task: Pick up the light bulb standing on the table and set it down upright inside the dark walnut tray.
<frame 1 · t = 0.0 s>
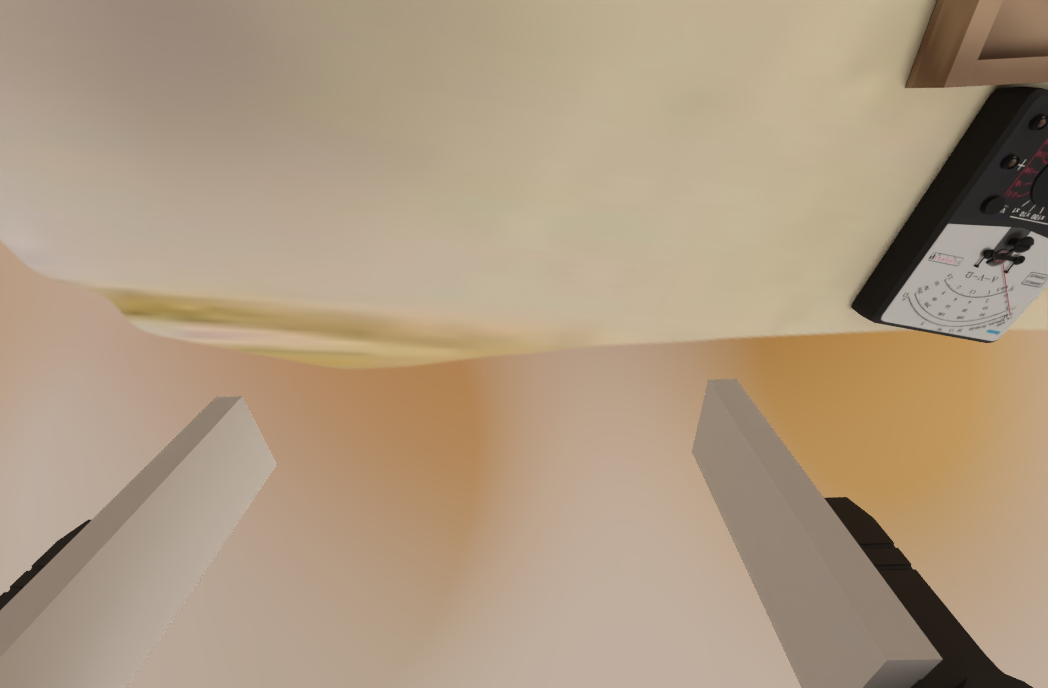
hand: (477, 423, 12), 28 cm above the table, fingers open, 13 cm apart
multimeter: (971, 224, 38), on the table
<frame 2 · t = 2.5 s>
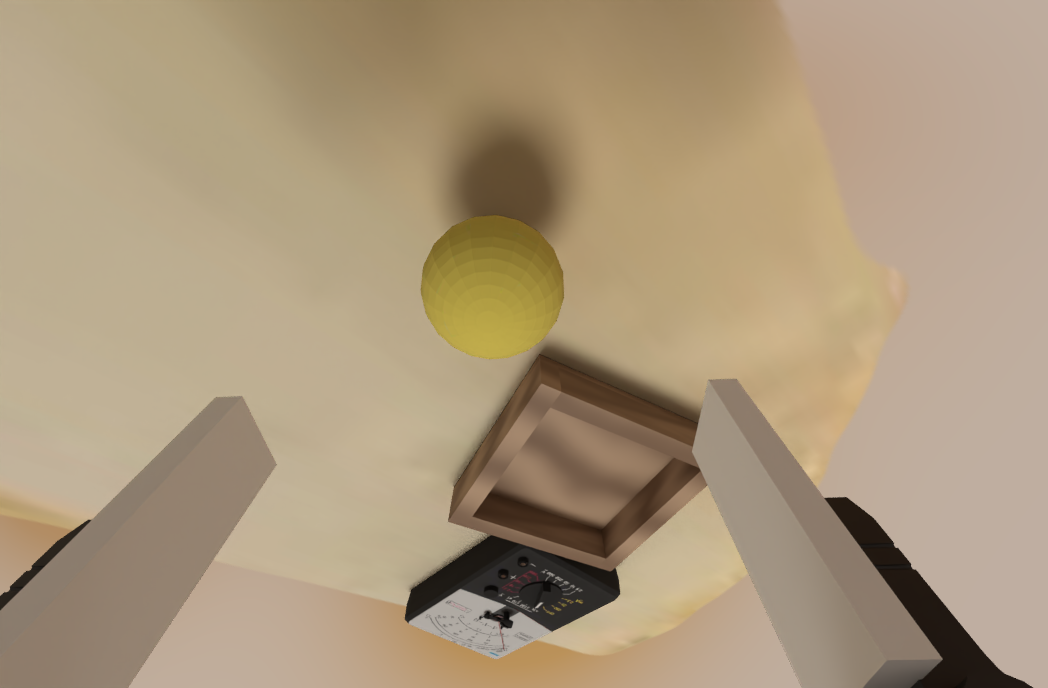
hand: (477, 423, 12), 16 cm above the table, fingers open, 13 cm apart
light bulb: (500, 242, 26), on the table
multimeter: (510, 572, 45), on the table
tray: (577, 460, 35), on the table
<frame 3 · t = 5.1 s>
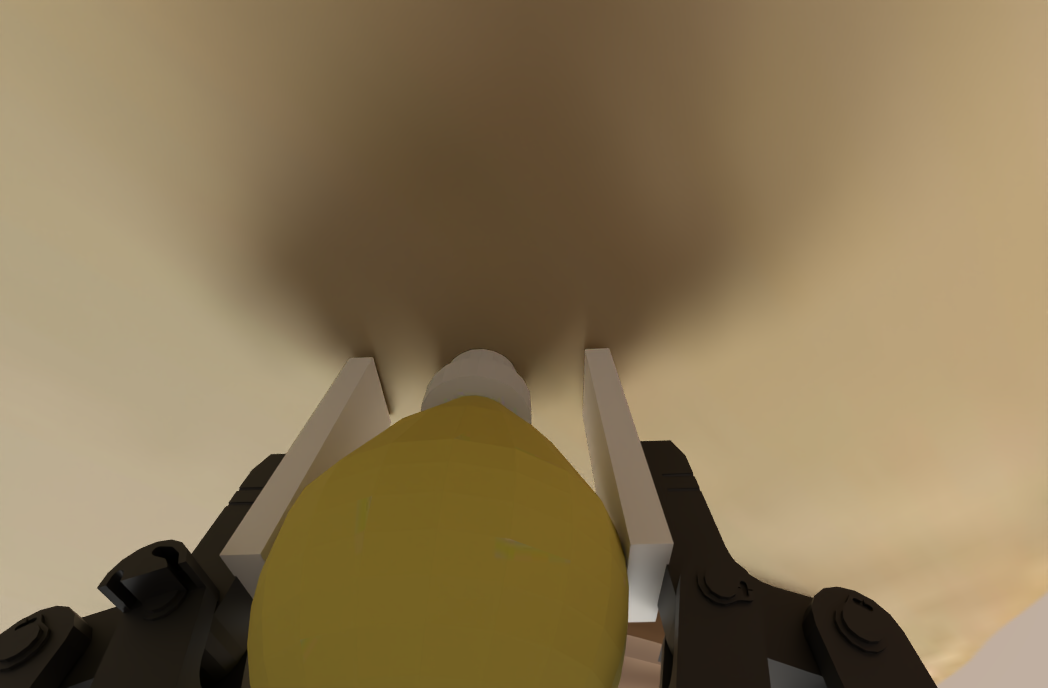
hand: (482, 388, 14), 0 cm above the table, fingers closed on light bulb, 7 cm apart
light bulb: (482, 375, 14), on the table, touching gripper
tray: (604, 647, 24), on the table
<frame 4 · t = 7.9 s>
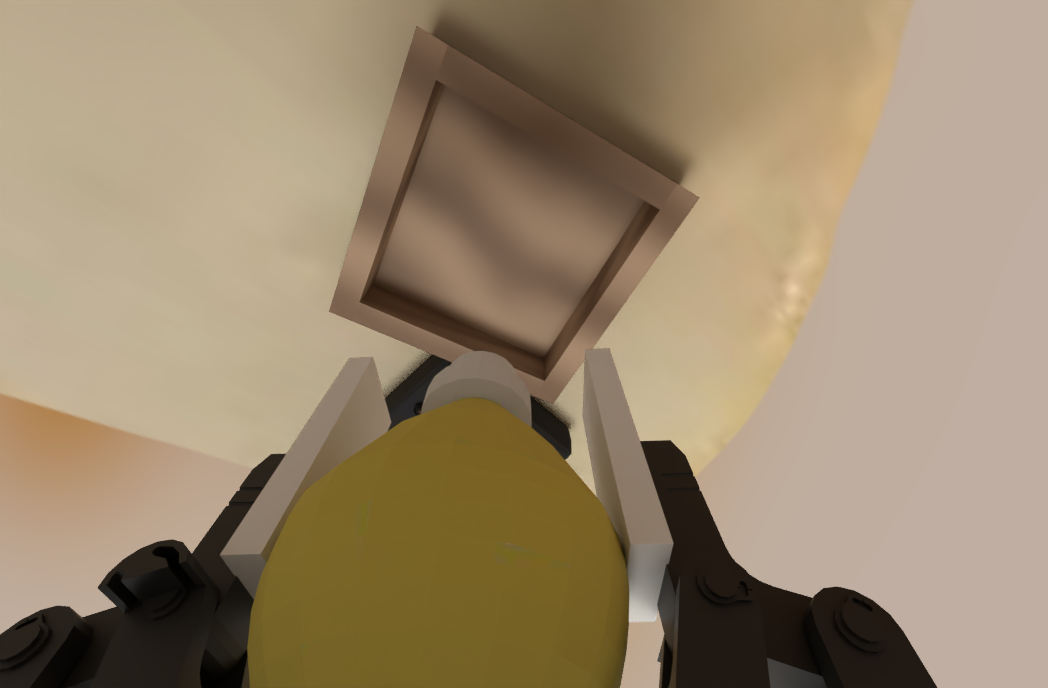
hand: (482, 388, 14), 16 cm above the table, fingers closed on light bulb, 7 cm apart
light bulb: (482, 377, 14), point 15 cm above the table, touching gripper
multimeter: (441, 440, 37), on the table
tray: (503, 240, 27), on the table
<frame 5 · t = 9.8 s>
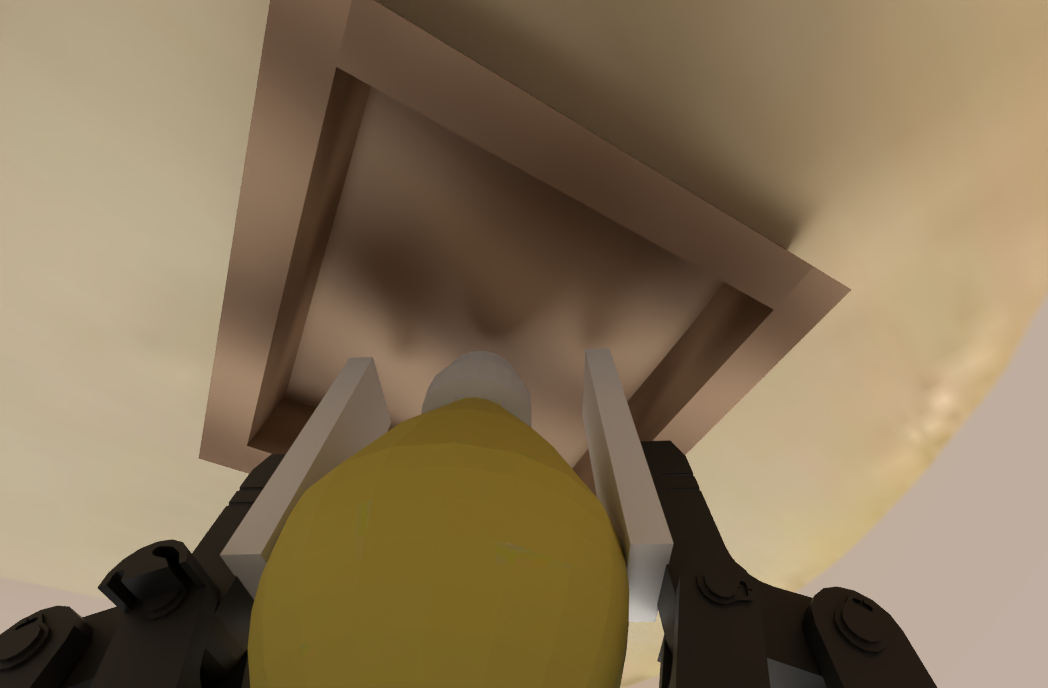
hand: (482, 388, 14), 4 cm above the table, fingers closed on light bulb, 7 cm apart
light bulb: (482, 377, 14), point 3 cm above the table, touching gripper
tray: (489, 333, 17), on the table
when the fingers open (2 cm above the table, at t = 10.9 s): light bulb drops 1 cm, resting on tray.
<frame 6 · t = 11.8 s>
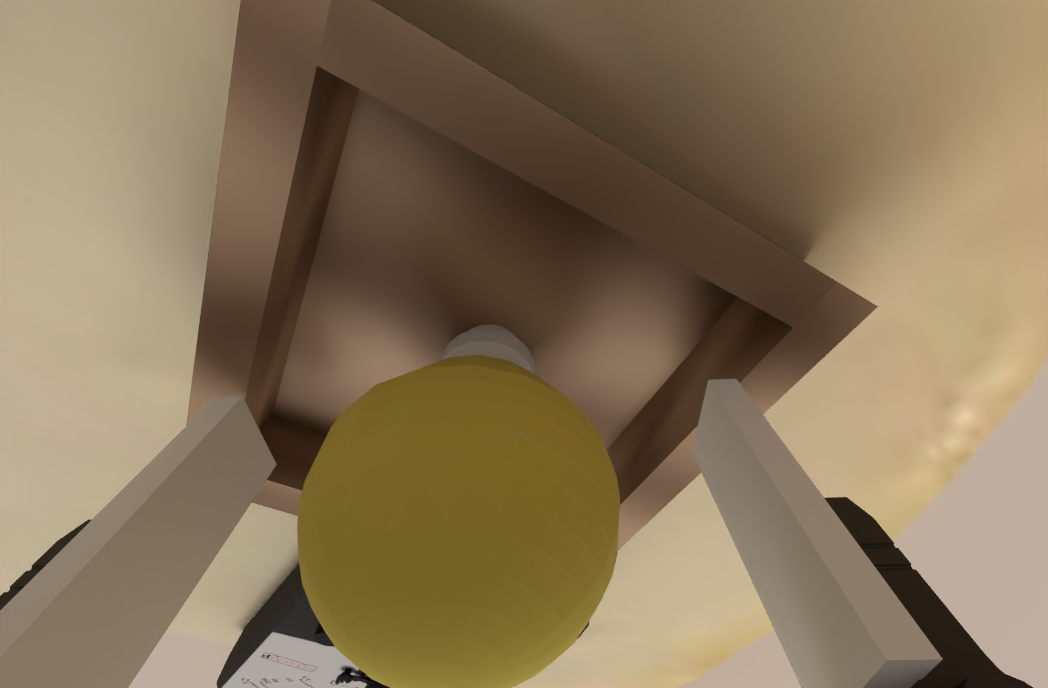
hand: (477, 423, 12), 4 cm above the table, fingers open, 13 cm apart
light bulb: (490, 350, 15), resting on tray
multimeter: (403, 591, 26), on the table
tray: (488, 348, 16), on the table
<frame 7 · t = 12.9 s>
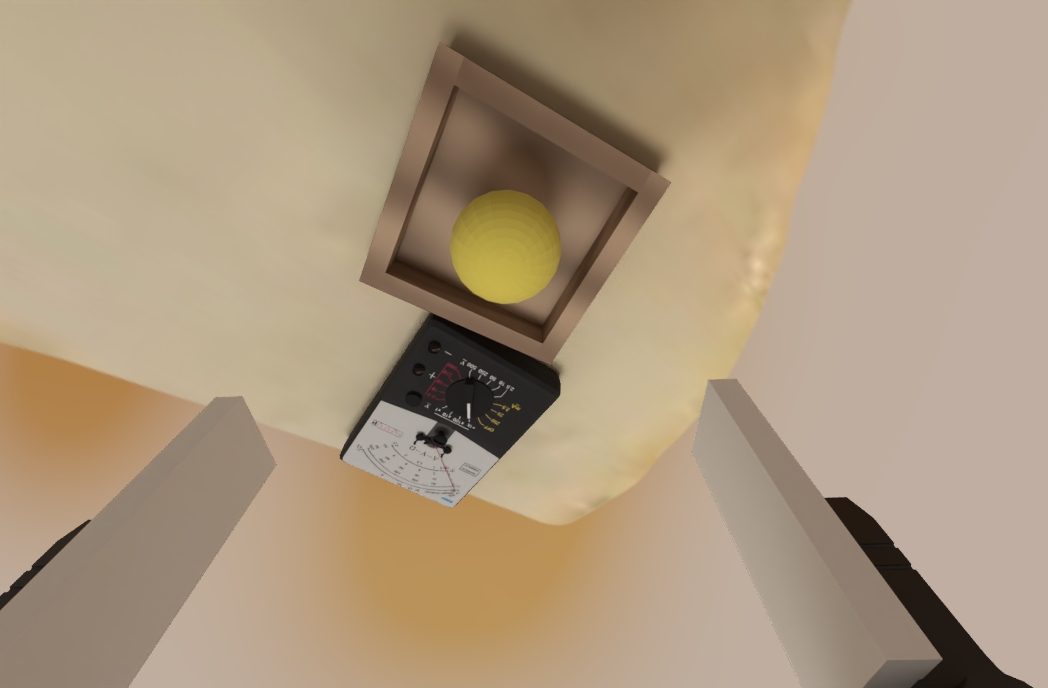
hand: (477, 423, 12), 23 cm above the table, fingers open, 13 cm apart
light bulb: (508, 220, 31), resting on tray
multimeter: (449, 403, 42), on the table
tray: (507, 221, 32), on the table
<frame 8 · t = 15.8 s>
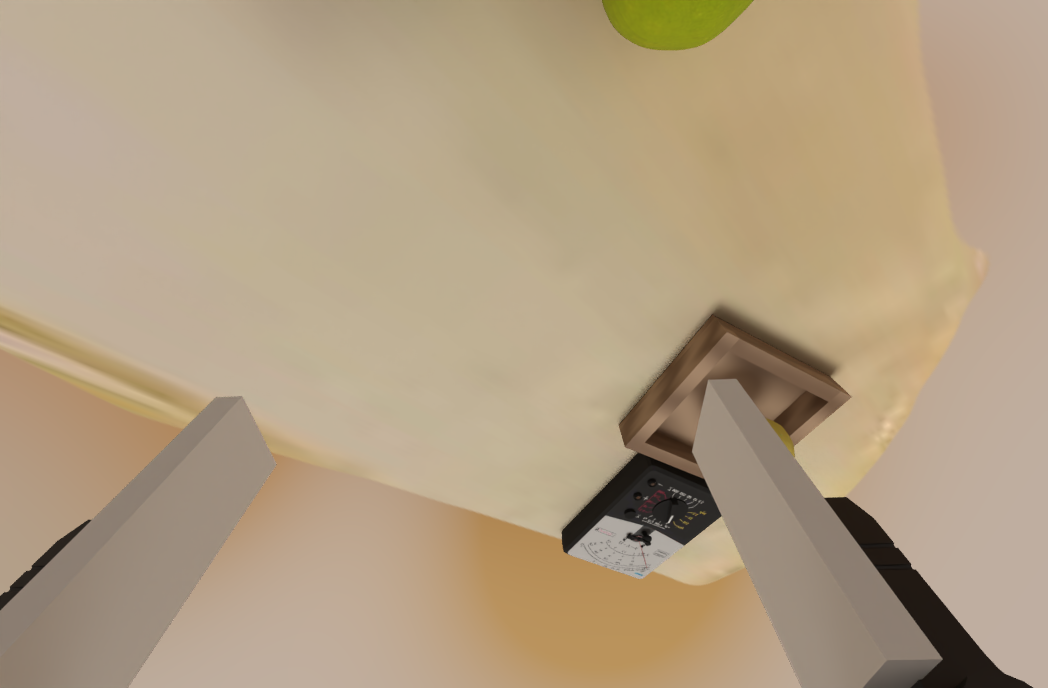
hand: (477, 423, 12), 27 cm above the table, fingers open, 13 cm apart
light bulb: (723, 402, 45), resting on tray
multimeter: (639, 504, 56), on the table
tray: (720, 401, 46), on the table
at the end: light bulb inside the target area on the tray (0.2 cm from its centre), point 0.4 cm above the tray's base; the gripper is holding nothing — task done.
